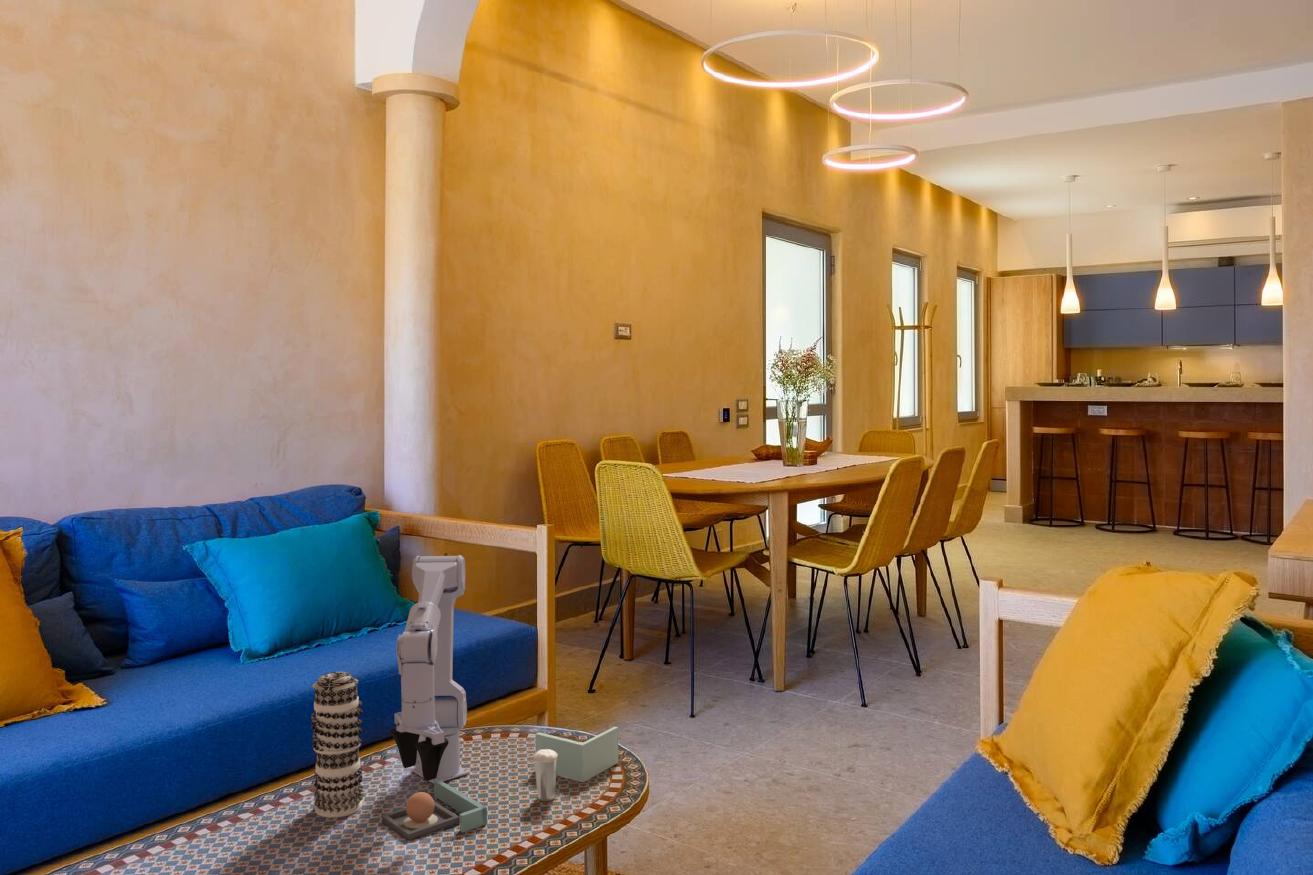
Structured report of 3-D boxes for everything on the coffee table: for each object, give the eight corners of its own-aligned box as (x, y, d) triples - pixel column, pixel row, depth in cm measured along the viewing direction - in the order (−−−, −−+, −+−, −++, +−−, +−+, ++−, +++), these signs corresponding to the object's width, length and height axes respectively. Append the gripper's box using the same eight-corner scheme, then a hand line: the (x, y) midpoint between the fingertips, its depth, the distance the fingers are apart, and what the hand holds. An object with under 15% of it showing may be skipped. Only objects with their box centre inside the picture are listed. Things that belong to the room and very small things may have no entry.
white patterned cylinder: (374, 806, 184) (371, 674, 183) (329, 823, 177) (325, 685, 176) (348, 792, 190) (345, 664, 189) (303, 808, 184) (300, 675, 182)
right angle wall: (618, 762, 205) (618, 727, 204) (583, 782, 195) (582, 745, 194) (572, 751, 211) (572, 716, 211) (536, 769, 201) (535, 733, 201)
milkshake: (558, 804, 185) (557, 751, 184) (531, 801, 186) (530, 749, 185) (565, 794, 189) (564, 742, 189) (538, 792, 190) (537, 741, 190)
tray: (381, 821, 178) (381, 815, 178) (431, 805, 184) (431, 799, 184) (408, 840, 170) (408, 834, 170) (459, 823, 177) (459, 816, 177)
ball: (401, 820, 178) (400, 793, 177) (426, 811, 181) (425, 785, 181) (414, 829, 174) (413, 801, 174) (440, 820, 177) (439, 793, 177)
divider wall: (415, 802, 186) (414, 786, 186) (438, 794, 189) (438, 779, 189) (462, 832, 173) (462, 815, 173) (487, 823, 177) (486, 807, 177)
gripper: (378, 693, 179) (380, 766, 180) (417, 713, 168) (419, 791, 169) (413, 684, 184) (415, 756, 184) (454, 703, 173) (455, 779, 174)
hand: (419, 772), depth 177 cm, fingers open, 7 cm apart
